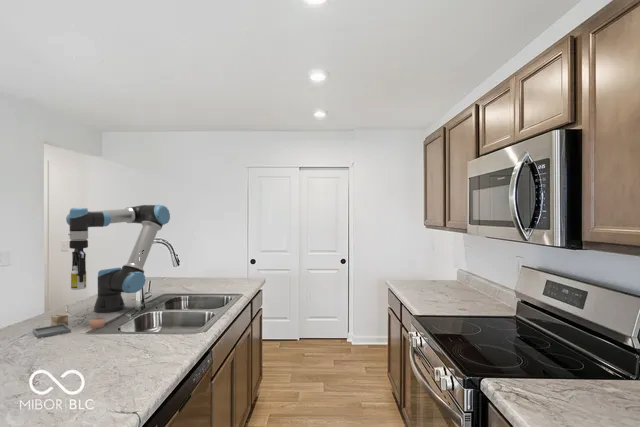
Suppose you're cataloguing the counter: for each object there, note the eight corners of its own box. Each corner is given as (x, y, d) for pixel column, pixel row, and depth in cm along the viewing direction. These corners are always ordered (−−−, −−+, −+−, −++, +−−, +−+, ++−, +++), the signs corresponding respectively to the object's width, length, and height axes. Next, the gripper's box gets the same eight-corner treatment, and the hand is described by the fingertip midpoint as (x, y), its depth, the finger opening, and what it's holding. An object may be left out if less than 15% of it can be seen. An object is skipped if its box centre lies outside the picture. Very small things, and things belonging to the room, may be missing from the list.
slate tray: (64, 326, 177) (64, 323, 177) (70, 332, 169) (70, 329, 169) (32, 332, 169) (32, 329, 169) (38, 338, 160) (38, 335, 160)
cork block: (62, 323, 183) (62, 313, 183) (68, 325, 180) (68, 314, 181) (51, 326, 178) (51, 316, 179) (56, 327, 176) (56, 317, 176)
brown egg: (102, 324, 182) (102, 317, 182) (106, 327, 178) (106, 319, 178) (88, 327, 178) (88, 319, 178) (92, 329, 174) (92, 322, 174)
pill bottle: (80, 290, 176) (80, 266, 176) (67, 290, 176) (67, 266, 176) (89, 287, 182) (89, 265, 182) (76, 287, 182) (76, 264, 182)
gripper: (64, 239, 183) (64, 286, 183) (75, 241, 170) (75, 291, 170) (82, 238, 189) (82, 284, 189) (93, 240, 175) (93, 289, 175)
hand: (78, 287), depth 179 cm, fingers closed on pill bottle, 6 cm apart
